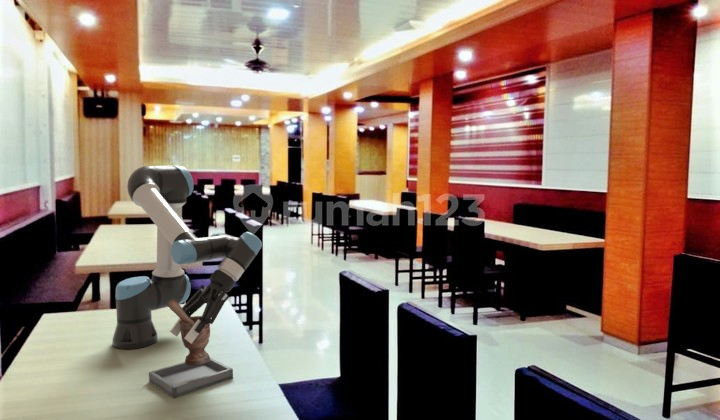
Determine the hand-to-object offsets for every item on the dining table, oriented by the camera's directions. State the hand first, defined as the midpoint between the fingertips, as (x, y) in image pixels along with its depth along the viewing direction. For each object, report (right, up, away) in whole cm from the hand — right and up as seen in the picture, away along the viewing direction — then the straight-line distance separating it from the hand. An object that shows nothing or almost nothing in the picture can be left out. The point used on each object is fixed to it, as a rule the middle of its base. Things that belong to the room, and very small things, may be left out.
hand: (180, 337), depth 157 cm
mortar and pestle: (+2, -9, +3) cm, 10 cm away
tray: (+2, -14, +4) cm, 15 cm away
